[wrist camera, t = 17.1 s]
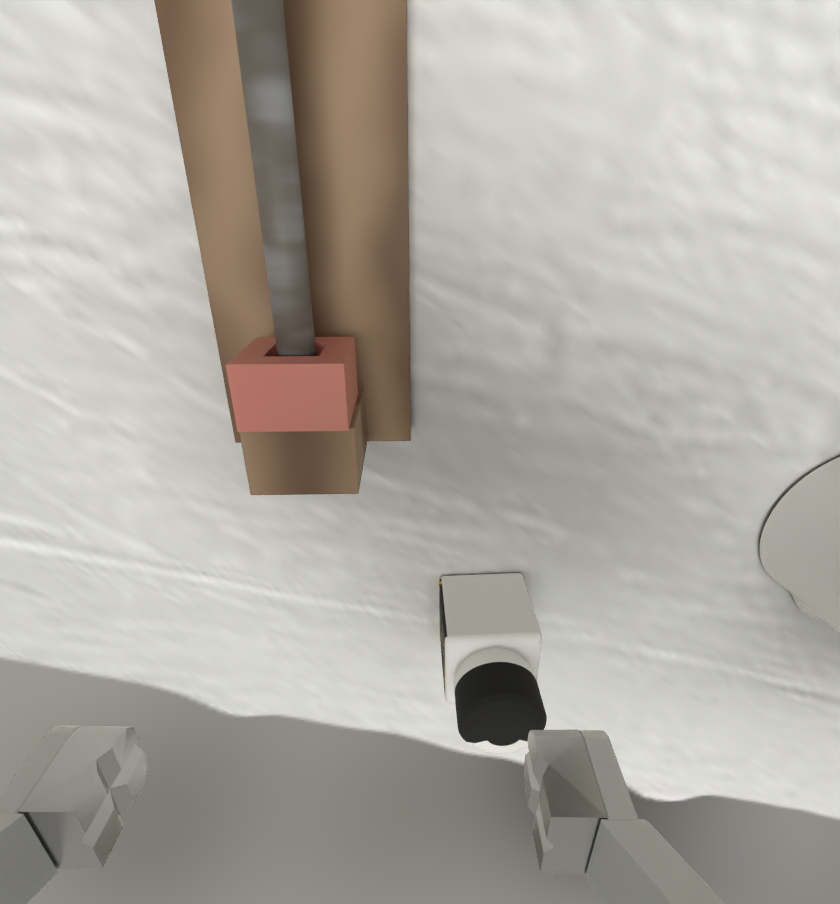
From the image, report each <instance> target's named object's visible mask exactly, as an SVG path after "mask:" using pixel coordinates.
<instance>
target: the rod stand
mask: <svg viewBox="0 0 840 904" xmlns="http://www.w3.org/2000/svg"><path fill="white" fill-rule="evenodd" d="M154 1H155V7H156V12H157V17H158V23H159V28H160V34H161V39H162V45H163V50H164V56H165V61H166V66H167V72H168V77H169V83H170V88H171V94H172V99H173V105H174V110H175V115H176V121H177V126H178V132H179V137H180V143H181V148H182V153H183V159H184V164H185V170H186V175H187V181H188V186H189V192H190V197H191V202H192V208H193V213H194V219H195V224H196V230H197V235H198V241H199V246H200V251H201V257H202V262H203V268H204V273H205V279H206V284H207V290H208V295H209V300H210V306H211V311H212V317H213V322H214V328H215V333H216V339H217V344H218V349H219V355H220V360H221V366H222V371H223V377H224V382H225V388H226V393H227V398H228V404H229V409H230V415H231V420H232V426H233V431H234V436H235V442H241V443H242V449H243V454H244V460H245V466H246V471H247V477H248V482H249V488H250V494H251V495H292V494H358V493H359V487H360V481H361V475H362V469H363V463H364V457H365V451H366V445H367V441H411V431H410V320H409V208H408V97H407V0H154ZM257 337H275V340H276V347H277V355H278V356H316V345H315V337H355V350H356V367H357V384H358V396H357V400H356V404H355V408H354V412H353V415H352V419H351V423H350V427H349V431H287V432H237V426H236V421H235V415H234V409H233V404H232V398H231V393H230V387H229V382H228V376H227V371H226V365H225V364H227V363H228V362H229V361H230V360H231V359H233V358H234V357H235V356H236V355H237V354H238V353H240V352H241V351H242V350H243V349H244V348H245V347H247V346H248V345H249V344H250V343H251V342H252V341H254V340H255V339H256V338H257Z"/></svg>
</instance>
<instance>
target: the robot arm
mask: <svg viewBox="0 0 840 904" xmlns="http://www.w3.org/2000/svg"><path fill="white" fill-rule="evenodd" d="M760 558H761V562H762V565H763V567H764V569H765V571H766V572H767V574H768V575H769V576H770V578H772V579H773V580H774V581H775V582H776V583H778V584H779V585H781V586H782V587H784V588H785V589H787V590H788V591H789V592H790V593H791V594H792V596H793V599H794V601H795V604H796V606H797V607H798V608H799V609H800V610H801V611H802V612H803V613H804V614H806V615H807V616H808V617H810V618H821V619H822V620H823V621H825V622H826V623H827V624H828V625H830V626H831V627H832V628H833V629H834V630H836V631H837V632H838V633H839V634H840V457H838V458H836V459H834V460H832V461H830V462H828V463H826V464H824V465H822V466H821V467H819V468H817V469H816V470H814V471H813V472H811V473H810V474H808V475H807V476H805V477H804V478H803V479H802V480H800V481H799V482H798V483H797V484H796V485H794V486H793V487H792V488H791V489H790V490H789V491H788V492H787V493H786V494H785V495H784V496H783V498H782V499H781V500H780V501H779V502H778V504H777V505H776V506H775V508H774V509H773V511H772V512H771V514H770V516H769V518H768V520H767V522H766V524H765V526H764V529H763V532H762V535H761V540H760ZM137 740H138V735H137V733H136V731H135V729H134V727H101V726H55V727H54V728H53V729H52V730H50V731H49V732H48V733H47V734H46V735H45V736H44V737H43V739H42V740H41V741H40V743H39V744H38V746H37V747H36V748H35V749H34V751H33V752H32V754H31V755H30V756H29V758H28V759H27V760H26V762H25V763H24V764H23V766H22V767H21V768H20V770H19V771H18V773H17V774H16V775H15V777H14V778H13V779H12V781H11V782H10V783H9V784H8V786H7V787H6V789H5V790H4V791H3V793H2V794H1V795H0V904H27V903H28V902H29V901H30V899H32V897H34V896H35V894H37V892H38V891H39V890H40V889H41V888H42V887H43V886H44V885H45V884H46V883H47V882H48V881H49V880H50V879H51V878H52V877H53V876H54V875H55V874H56V873H57V871H58V870H57V869H72V868H103V867H104V865H105V863H106V861H107V859H108V857H109V855H110V853H111V851H112V849H113V847H114V845H115V843H116V841H117V839H118V837H119V835H120V833H121V831H122V829H123V827H122V817H121V815H122V814H123V813H125V812H126V811H127V810H128V809H129V808H130V807H131V806H133V805H134V804H135V802H136V800H137V798H138V796H139V794H140V792H141V790H142V788H143V784H144V780H145V777H146V773H147V759H146V756H145V753H144V751H143V750H141V749H140V748H138V747H137V746H136V745H135V743H136V741H137ZM527 742H528V747H529V752H528V753H527V754H526V755H525V762H524V781H525V790H526V797H527V803H528V807H529V809H530V810H531V811H532V812H533V814H534V815H535V822H534V828H533V837H534V842H535V848H536V853H537V858H538V864H539V869H540V873H555V874H579V875H585V878H586V880H587V881H588V883H589V884H590V886H591V887H592V889H593V890H594V892H595V893H596V895H597V896H598V898H599V899H600V901H601V902H602V904H725V903H724V902H723V901H722V900H721V899H720V898H719V897H718V896H717V895H716V894H715V893H714V892H713V890H712V889H711V888H710V887H709V886H708V885H707V884H706V883H705V882H704V881H703V880H702V879H701V878H700V877H699V876H698V875H697V873H696V872H695V871H694V870H693V869H692V868H691V867H690V866H689V865H688V864H687V863H686V862H685V861H684V860H683V858H681V857H680V855H679V854H678V853H677V852H676V851H675V850H674V849H673V848H672V847H671V846H670V845H669V844H668V843H667V842H666V840H665V839H664V838H663V837H662V836H661V835H660V834H659V833H658V832H657V831H656V830H655V829H654V828H653V827H652V826H651V824H650V823H649V822H648V821H647V820H638V817H637V814H636V812H635V809H634V806H633V803H632V801H631V797H630V795H629V792H628V789H627V786H626V784H625V781H624V778H623V775H622V773H621V770H620V767H619V764H618V761H617V759H616V756H615V753H614V750H613V748H612V745H611V742H610V739H609V737H608V735H607V734H606V733H605V731H602V730H530V732H529V734H528V740H527Z"/></svg>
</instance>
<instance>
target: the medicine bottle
mask: <svg viewBox="0 0 840 904" xmlns="http://www.w3.org/2000/svg"><path fill="white" fill-rule="evenodd" d="M439 598H440V641H441V653H442V666H443V678H444V690H445V699H446V702H447V703H450V704H452V703H456V713H457V723H458V730H459V733H460V735H461V737H462V738H463V739H464V740H465V741H466V742H467V743H468V744H469V745H471V746H472V747H474V748H475V749H477V750H480V751H483V752H487V753H496V754H500V753H510V752H514V751H518V750H521V749H523V748H525V747H527V746H528V742H527V740H528V734H529V732H530V730H544V728H545V725H546V713H545V709H544V706H543V702H542V699H541V695H540V691H539V688H538V684H537V676H538V667H539V658H540V649H541V640H542V634H541V631H540V628H539V625H538V622H537V619H536V616H535V612H534V609H533V606H532V603H531V600H530V597H529V594H528V591H527V588H526V585H525V581H524V578H523V575H522V574H521V573H504V574H479V575H455V576H441V577H440V580H439Z"/></svg>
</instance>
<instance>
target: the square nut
mask: <svg viewBox="0 0 840 904" xmlns="http://www.w3.org/2000/svg"><path fill="white" fill-rule="evenodd" d="M315 345H316V356H278V355H277V347H276V340H275V337H257V338H256V339H255V340H254V341H252V342H251V343H250V344H249V345H248V346H247V347H245V348H244V349H243V350H242V351H241V352H240V353H238V354H237V355H236V356H235V357H234V358H233V359H231V360H230V361H229V362H228V363H227V364H225V365H226V371H227V376H228V382H229V387H230V393H231V398H232V404H233V409H234V415H235V421H236V426H237V432H287V431H349V427H350V423H351V419H352V415H353V412H354V408H355V404H356V400H357V396H358V384H357V367H356V350H355V337H315Z"/></svg>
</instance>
